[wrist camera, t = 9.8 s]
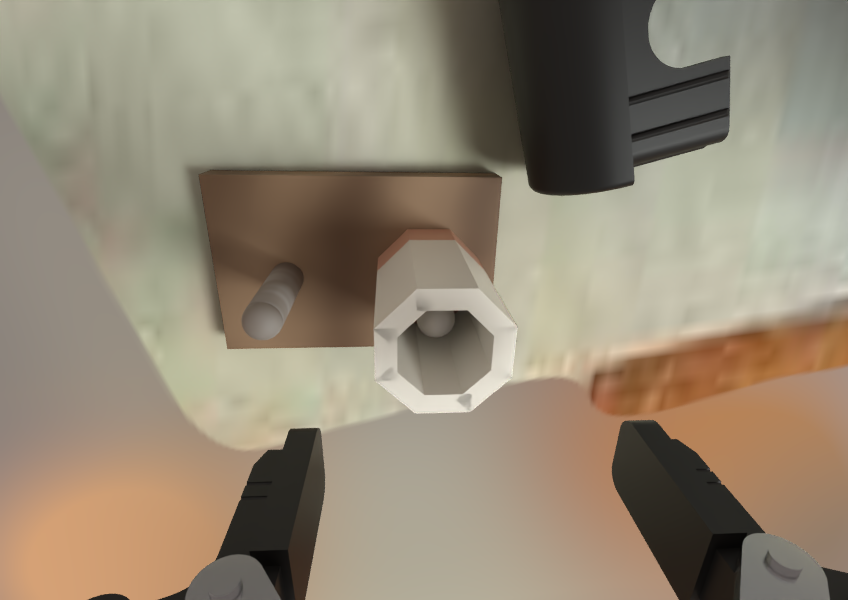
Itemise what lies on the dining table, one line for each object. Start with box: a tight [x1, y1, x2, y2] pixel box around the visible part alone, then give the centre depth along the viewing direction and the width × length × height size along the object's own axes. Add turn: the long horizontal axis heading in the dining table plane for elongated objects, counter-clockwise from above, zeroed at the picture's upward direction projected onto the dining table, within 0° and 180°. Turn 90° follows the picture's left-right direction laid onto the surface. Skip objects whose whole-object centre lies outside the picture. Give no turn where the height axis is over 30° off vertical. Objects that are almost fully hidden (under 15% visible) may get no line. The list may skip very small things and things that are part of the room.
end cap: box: [499, 0, 730, 196], centre depth 19 cm, size 10×7×7 cm
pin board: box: [199, 170, 502, 349], centre depth 21 cm, size 14×9×7 cm, turn 89°
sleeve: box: [373, 229, 518, 414], centre depth 20 cm, size 5×5×8 cm
